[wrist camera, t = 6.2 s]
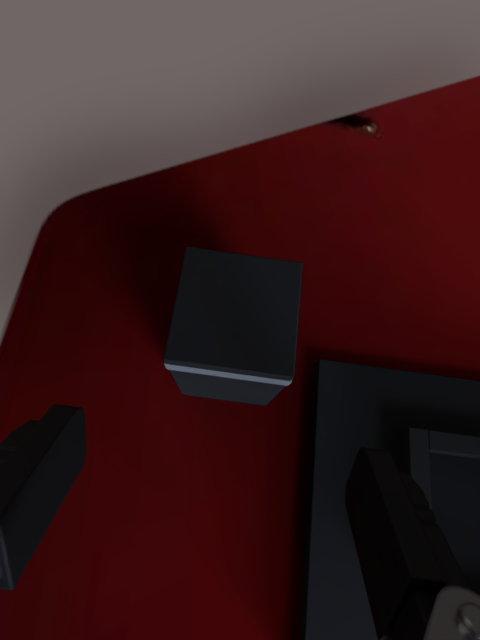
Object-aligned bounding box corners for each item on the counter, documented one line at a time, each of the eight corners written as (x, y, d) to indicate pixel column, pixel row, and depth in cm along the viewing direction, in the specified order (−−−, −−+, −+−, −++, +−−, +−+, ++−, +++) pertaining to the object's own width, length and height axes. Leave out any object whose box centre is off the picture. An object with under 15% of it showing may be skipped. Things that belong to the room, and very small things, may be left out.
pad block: (181, 395, 21) (161, 360, 13) (195, 315, 23) (184, 244, 15) (267, 407, 21) (295, 379, 13) (275, 325, 23) (304, 261, 15)
